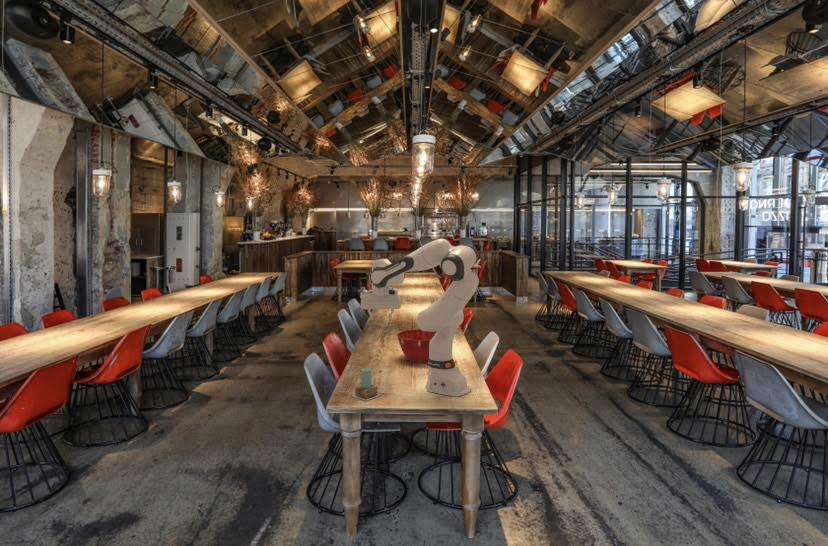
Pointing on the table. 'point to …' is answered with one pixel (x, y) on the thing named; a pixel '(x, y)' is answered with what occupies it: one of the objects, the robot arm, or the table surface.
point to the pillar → (366, 377)
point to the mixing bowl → (415, 344)
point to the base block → (366, 391)
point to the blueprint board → (366, 399)
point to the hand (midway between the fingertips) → (380, 317)
